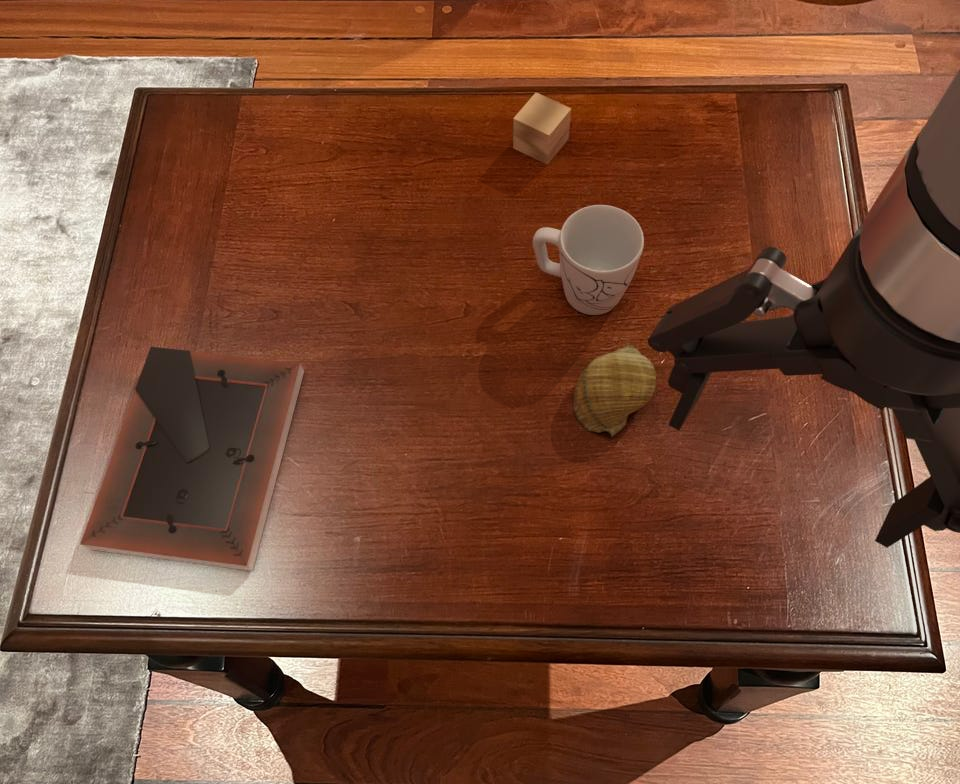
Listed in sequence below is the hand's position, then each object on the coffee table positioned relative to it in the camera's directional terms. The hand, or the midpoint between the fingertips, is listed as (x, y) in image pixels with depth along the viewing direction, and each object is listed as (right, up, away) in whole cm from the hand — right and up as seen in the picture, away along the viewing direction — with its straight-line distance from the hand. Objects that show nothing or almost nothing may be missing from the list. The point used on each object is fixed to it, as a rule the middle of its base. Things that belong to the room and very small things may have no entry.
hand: (782, 466), depth 49 cm
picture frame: (-47, -2, +33) cm, 57 cm away
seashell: (-5, +4, +34) cm, 35 cm away
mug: (-7, +16, +40) cm, 44 cm away
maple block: (-11, +35, +50) cm, 62 cm away
